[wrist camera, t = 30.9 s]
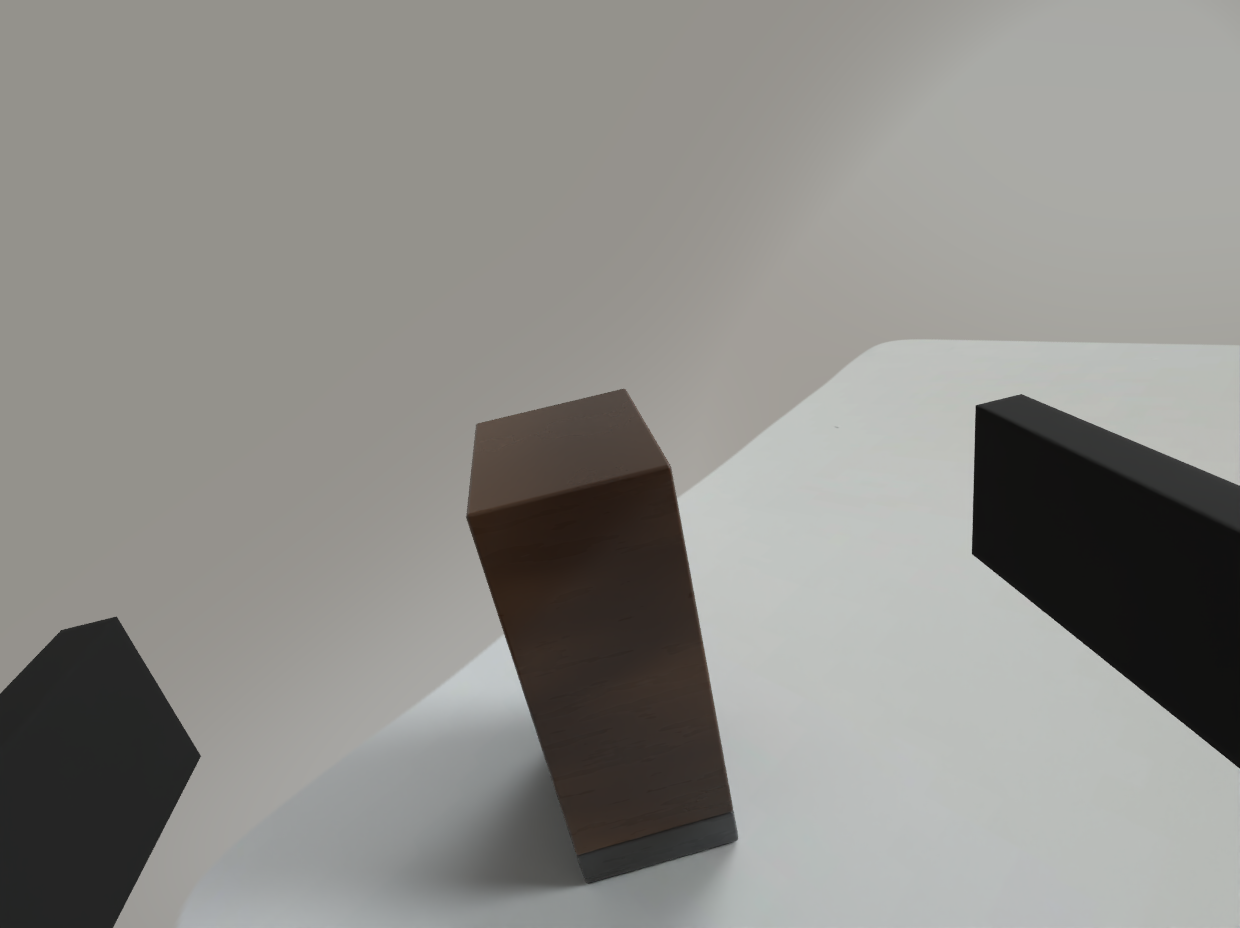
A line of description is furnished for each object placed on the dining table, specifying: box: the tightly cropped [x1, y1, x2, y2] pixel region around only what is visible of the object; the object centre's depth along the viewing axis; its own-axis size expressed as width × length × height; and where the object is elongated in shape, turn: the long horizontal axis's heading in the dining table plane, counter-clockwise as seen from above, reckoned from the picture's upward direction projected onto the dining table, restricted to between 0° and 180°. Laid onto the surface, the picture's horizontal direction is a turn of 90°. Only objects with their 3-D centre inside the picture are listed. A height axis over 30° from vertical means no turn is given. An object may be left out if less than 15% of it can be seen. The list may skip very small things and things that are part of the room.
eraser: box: [466, 389, 738, 883], centre depth 20 cm, size 4×6×12 cm
